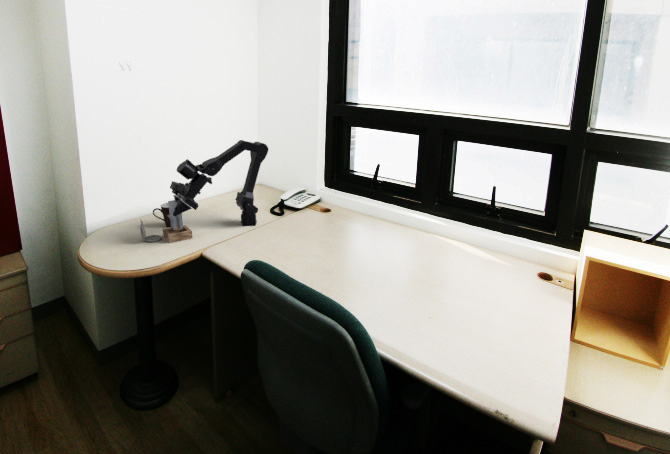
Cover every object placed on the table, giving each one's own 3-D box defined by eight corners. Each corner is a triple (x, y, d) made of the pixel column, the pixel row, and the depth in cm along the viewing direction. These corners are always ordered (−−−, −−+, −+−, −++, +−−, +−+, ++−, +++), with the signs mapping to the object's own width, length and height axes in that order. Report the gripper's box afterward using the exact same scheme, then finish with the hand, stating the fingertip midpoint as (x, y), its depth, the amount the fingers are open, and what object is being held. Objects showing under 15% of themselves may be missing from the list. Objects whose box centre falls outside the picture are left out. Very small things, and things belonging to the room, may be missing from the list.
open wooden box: (185, 232, 202) (185, 224, 201) (192, 238, 195) (191, 231, 194) (163, 236, 197) (162, 229, 195) (169, 243, 190) (168, 235, 189)
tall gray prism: (180, 225, 197) (177, 199, 193) (183, 228, 194) (180, 202, 190) (171, 227, 195) (168, 201, 191) (173, 230, 192) (170, 203, 188)
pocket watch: (164, 238, 194) (161, 216, 191) (149, 245, 187) (146, 222, 184) (150, 235, 198) (147, 213, 194) (135, 241, 190) (132, 219, 187)
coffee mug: (185, 222, 214) (183, 202, 210) (177, 228, 206) (175, 208, 202) (162, 221, 215) (159, 201, 211) (153, 227, 207) (150, 206, 203)
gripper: (174, 170, 196) (151, 198, 193) (188, 179, 181) (163, 209, 179) (193, 185, 203) (171, 212, 200) (208, 195, 188) (184, 224, 186)
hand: (172, 214), depth 191 cm, fingers closed on tall gray prism, 4 cm apart
